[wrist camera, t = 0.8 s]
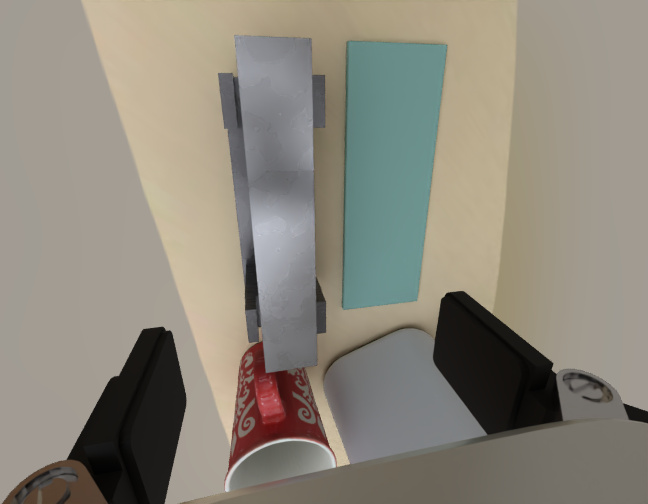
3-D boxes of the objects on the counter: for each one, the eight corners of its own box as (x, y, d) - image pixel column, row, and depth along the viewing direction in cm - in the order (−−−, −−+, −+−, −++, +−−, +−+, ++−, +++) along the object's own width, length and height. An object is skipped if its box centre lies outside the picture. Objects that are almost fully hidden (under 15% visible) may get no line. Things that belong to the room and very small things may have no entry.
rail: (237, 50, 20) (234, 35, 17) (300, 52, 21) (311, 38, 17) (263, 340, 29) (265, 373, 25) (308, 334, 29) (317, 365, 26)
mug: (312, 386, 41) (339, 500, 29) (238, 401, 39) (233, 527, 27) (305, 299, 36) (333, 392, 24) (220, 312, 34) (204, 418, 22)
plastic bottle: (447, 392, 47) (684, 719, 21) (351, 438, 46) (476, 830, 21) (422, 312, 40) (717, 643, 15) (310, 365, 40) (419, 803, 14)
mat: (346, 42, 28) (348, 40, 27) (443, 46, 29) (447, 44, 29) (342, 307, 37) (343, 309, 37) (414, 298, 39) (417, 300, 39)
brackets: (222, 80, 27) (210, 63, 19) (306, 81, 28) (330, 66, 20) (246, 294, 34) (244, 348, 26) (311, 287, 36) (329, 336, 27)
